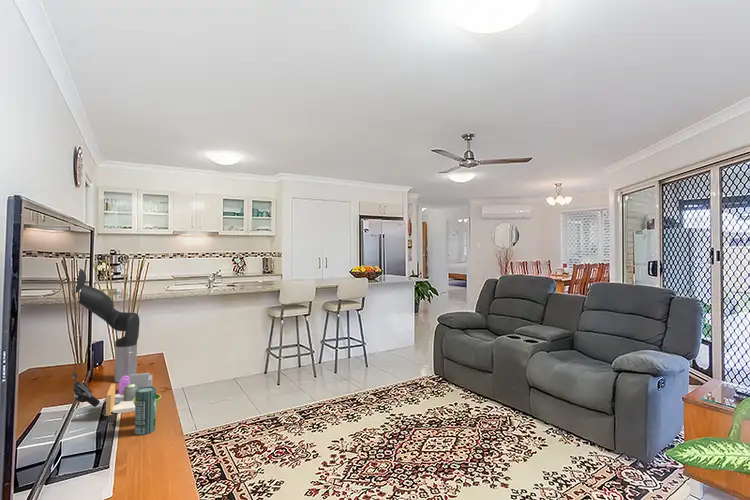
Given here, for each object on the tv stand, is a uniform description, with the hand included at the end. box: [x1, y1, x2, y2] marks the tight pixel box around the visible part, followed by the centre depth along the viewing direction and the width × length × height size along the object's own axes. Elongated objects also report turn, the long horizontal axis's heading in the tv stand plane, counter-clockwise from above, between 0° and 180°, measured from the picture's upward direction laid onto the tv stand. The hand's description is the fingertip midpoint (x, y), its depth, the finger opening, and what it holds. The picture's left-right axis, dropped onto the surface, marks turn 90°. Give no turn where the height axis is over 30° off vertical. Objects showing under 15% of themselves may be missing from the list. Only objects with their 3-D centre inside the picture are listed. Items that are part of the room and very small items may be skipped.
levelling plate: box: [112, 372, 153, 414], centre depth 170 cm, size 21×18×10 cm
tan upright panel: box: [105, 383, 120, 417], centre depth 160 cm, size 16×5×8 cm, turn 27°
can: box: [134, 385, 157, 436], centre depth 144 cm, size 6×6×15 cm
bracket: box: [117, 376, 130, 394], centre depth 184 cm, size 13×6×7 cm, turn 117°
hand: (97, 404), depth 154 cm, fingers closed
